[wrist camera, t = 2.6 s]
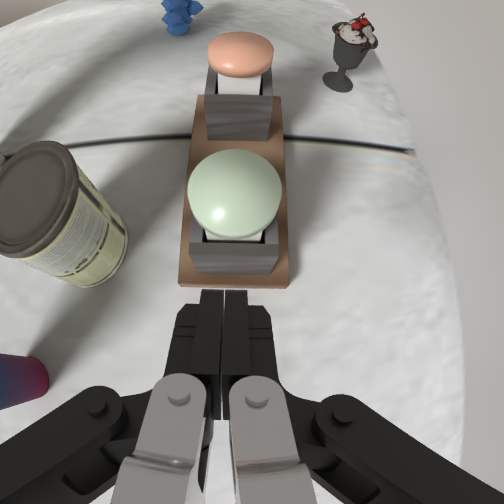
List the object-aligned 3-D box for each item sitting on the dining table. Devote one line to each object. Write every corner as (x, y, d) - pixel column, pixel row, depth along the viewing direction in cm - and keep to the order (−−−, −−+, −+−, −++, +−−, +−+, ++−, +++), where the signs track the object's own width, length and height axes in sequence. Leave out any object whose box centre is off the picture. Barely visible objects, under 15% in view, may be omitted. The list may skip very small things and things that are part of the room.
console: (285, 288, 33) (304, 269, 24) (181, 286, 32) (162, 266, 24) (278, 106, 40) (287, 58, 31) (198, 104, 39) (193, 55, 31)
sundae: (325, 96, 41) (353, 17, 27) (312, 68, 43) (332, -7, 28) (363, 97, 42) (398, 25, 27) (348, 69, 43) (374, 0, 29)
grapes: (199, 50, 43) (194, -8, 31) (160, 52, 43) (149, -4, 31) (209, 18, 46) (208, -32, 35) (175, 19, 46) (169, -30, 34)
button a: (270, 262, 27) (283, 233, 20) (196, 260, 27) (183, 231, 20) (269, 195, 29) (280, 150, 22) (201, 194, 29) (191, 148, 21)
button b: (267, 118, 32) (275, 68, 24) (208, 117, 31) (204, 66, 24) (266, 81, 33) (272, 33, 26) (213, 79, 33) (210, 31, 26)
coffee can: (43, 270, 32) (-32, 233, 18) (76, 196, 34) (20, 133, 21) (108, 303, 31) (36, 275, 18) (142, 219, 34) (97, 150, 21)
